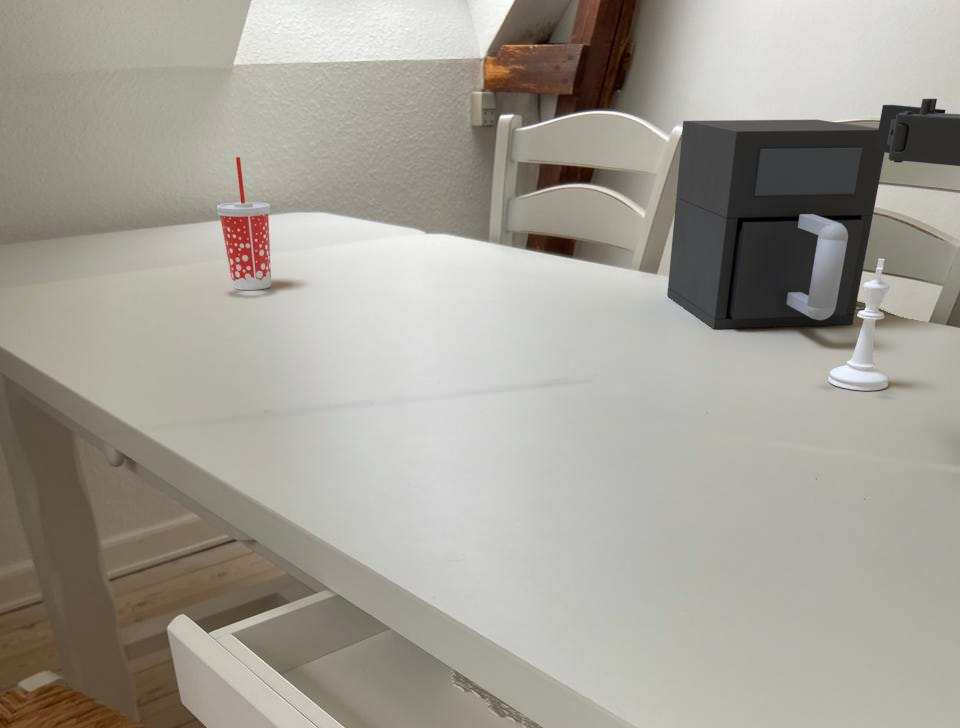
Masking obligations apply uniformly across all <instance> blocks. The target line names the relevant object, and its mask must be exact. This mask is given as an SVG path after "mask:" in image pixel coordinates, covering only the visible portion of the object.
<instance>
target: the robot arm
mask: <svg viewBox="0 0 960 728" xmlns="http://www.w3.org/2000/svg"><path fill="white" fill-rule="evenodd" d="M937 101H938V98H922V100H921V103H920V104H921V105H920V106H910V105H901V104H900V105H899V104H883V105H882V107H881V113H880V119H879V124H878V128H879V129H878V134H877V140H876V145H875V151H880V152H885V154H888V156H887V157H888V158H887V160H889V161H891V162H893V163H901V164H902V163H903V162H910V163H911V162H912V163H920V164H921V163H922V164H932V165H942V166H943V165H944V166H952V167H953V166H954V167H960V113H946V111H947V110H946V109H942V108H937Z"/></svg>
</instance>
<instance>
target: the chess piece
mask: <svg viewBox="0 0 960 728" xmlns="http://www.w3.org/2000/svg"><path fill="white" fill-rule="evenodd" d="M884 264H885V258H878V260H877V265H876V269H875V273H874V279H872V280H869V281H866V282H864V283H863V286H862V287H863V293H864V294H863V295H864V303H865V308H864V309H862V310H859V311H858V312H857V314H856V317H858V318H860V319H862V320H863V321H862V325H861V328H860V331H859V334H858V338H857V341H856V344H855V348H854V350H853V353H852V356H851V359H849V360H847V361H846V364H847V365H840V366H837V367H834V368H832V369H831V370H830V371H829V376H828V377H827V382H828V383H829V384H831V385H832V386H835V387H838V388H841V389H845V390H851V391H852V390H853V391H862V392H863V391H866V392H868V391H869V392H871V391H880V390H884V389H886V388H887V387H888V386H889V375H888V374H887V372H885V371H884V370H881V369H879V368H877V367H875V366H876V365H877V364H876V362H874V359H873V357H874V339H875V329H876V321H877V320H883V319H885V313H884V312H883V311H880V309H879V308H880V306H881V304H882V303H883V301H884V299H885V297H886V295H887V293H888V292H889V290H890V284H889V283H887V282H886V281H884V280H882V275H883V272H884V268H885V266H884Z"/></svg>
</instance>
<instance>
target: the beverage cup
mask: <svg viewBox="0 0 960 728" xmlns="http://www.w3.org/2000/svg"><path fill="white" fill-rule="evenodd" d="M235 161H236V162H235V163H236V170H237V180H238V181H237V182H238V188H239V198H240V201H237V202H227V203H221V204H217V205H216V211H217V215H219V217H220V224H221V228H222V235H223V238H224V239H223V240H224V245H225V250H226V257H227V261H228V267H229V273H230V280H231V284H232V288H233V289H235V290H240V291H242V290H243V291H257V290H265V289H269V288H270V287H272V267H271V266H272V265H271V264H272V263H271V244H270V223H269V219H270V218H269V214H271V209H270V208H271V204H270V203H267V202H260V201H259V202H258V201H246V200H245V199H246V198H245V190H244V180H243V171H242V161H241V157H240V156H236V157H235Z"/></svg>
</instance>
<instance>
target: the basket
mask: <svg viewBox="0 0 960 728" xmlns="http://www.w3.org/2000/svg"><path fill="white" fill-rule="evenodd" d="M862 227H863V221H862V220H829V219H826V218H823V217H820V216H817V215H814V214H800V216H799V217H763V218H738V223H737V231H736V239H735V248H734V256H733V264H732V272H731V280H730V289H729V297H728V305H727V314H729V315H730V316H731V318H733V319H756V318H786V317H810V318H812V319H816V320H824V319H827V318H829V317H830V316H845V315H847V309H848V304H849V298H850V293H851V287H852V282H853V276H854V271H855V265H856V260H857V254H858V249H859V243H860V238H861V232H862Z"/></svg>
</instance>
